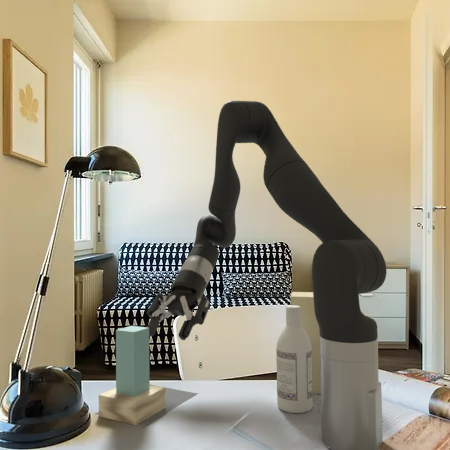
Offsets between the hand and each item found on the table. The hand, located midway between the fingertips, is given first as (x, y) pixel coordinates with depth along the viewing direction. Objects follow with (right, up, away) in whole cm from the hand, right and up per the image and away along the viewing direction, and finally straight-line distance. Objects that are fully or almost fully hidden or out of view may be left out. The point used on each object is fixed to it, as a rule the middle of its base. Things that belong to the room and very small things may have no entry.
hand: (165, 336), depth 93 cm
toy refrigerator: (+32, -13, +3) cm, 34 cm away
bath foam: (+27, -12, -8) cm, 31 cm away
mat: (-2, -13, -6) cm, 14 cm away
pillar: (-5, -8, -10) cm, 14 cm away
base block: (-5, -12, -10) cm, 16 cm away
